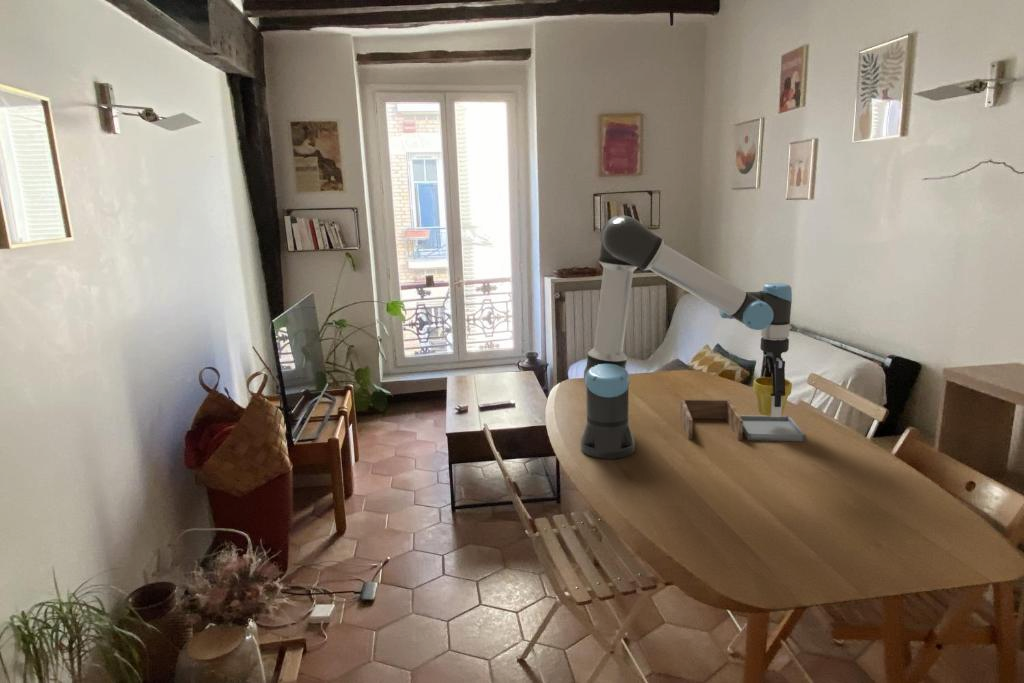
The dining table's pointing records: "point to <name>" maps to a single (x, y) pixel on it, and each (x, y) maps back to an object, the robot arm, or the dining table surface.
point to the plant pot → (768, 394)
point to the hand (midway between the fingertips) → (770, 410)
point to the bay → (710, 414)
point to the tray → (771, 428)
